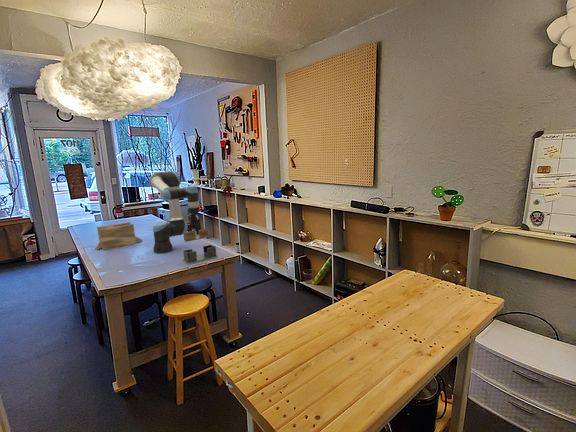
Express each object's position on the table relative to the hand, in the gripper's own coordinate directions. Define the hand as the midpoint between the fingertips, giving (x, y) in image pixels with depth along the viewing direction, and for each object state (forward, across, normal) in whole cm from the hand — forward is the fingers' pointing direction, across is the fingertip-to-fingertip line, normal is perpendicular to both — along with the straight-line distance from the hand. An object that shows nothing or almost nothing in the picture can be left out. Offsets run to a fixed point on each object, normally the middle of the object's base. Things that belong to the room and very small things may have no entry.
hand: (196, 238), depth 227 cm
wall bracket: (+17, -85, -39) cm, 95 cm away
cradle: (+17, -86, -40) cm, 96 cm away
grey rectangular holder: (+17, 0, +2) cm, 17 cm away
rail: (+1, 0, 0) cm, 1 cm away
